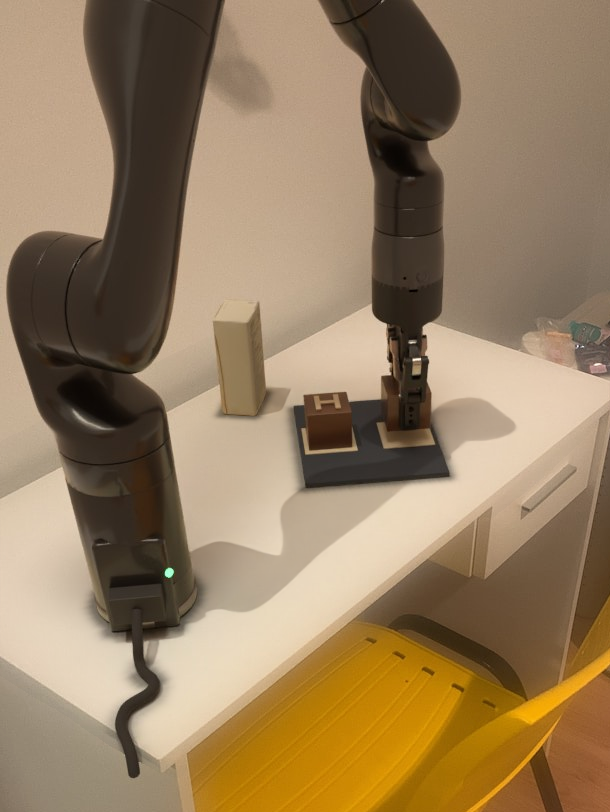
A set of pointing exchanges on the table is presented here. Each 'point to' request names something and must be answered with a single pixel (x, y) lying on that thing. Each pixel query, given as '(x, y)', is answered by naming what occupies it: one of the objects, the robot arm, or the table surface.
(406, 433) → the word mat
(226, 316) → the cosmetic box
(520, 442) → the table surface
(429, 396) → the brown letter i block
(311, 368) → the table surface
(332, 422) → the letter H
